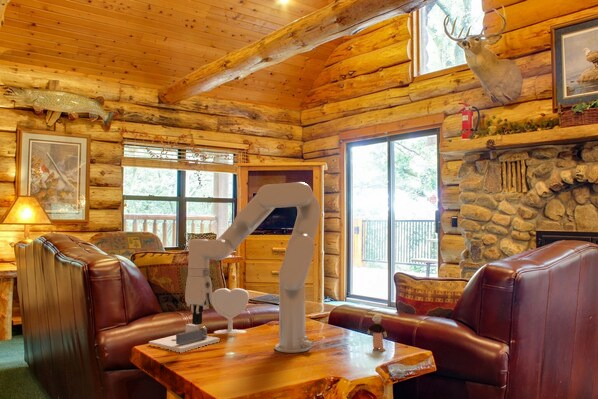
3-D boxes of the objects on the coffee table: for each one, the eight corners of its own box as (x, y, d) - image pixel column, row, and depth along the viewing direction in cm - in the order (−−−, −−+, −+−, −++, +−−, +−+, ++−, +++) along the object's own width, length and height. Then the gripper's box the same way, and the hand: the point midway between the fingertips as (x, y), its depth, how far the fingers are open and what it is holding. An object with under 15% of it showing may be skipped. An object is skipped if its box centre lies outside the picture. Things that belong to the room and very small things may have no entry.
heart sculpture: (210, 333, 203) (210, 289, 204) (212, 330, 208) (212, 288, 209) (248, 332, 203) (248, 289, 204) (249, 330, 208) (249, 287, 209)
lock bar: (203, 336, 189) (203, 325, 189) (208, 337, 187) (208, 326, 187) (174, 343, 178) (175, 332, 178) (180, 345, 176) (180, 333, 176)
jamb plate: (219, 341, 188) (219, 327, 188) (180, 352, 173) (180, 337, 173) (188, 335, 199) (188, 322, 199) (148, 345, 183) (149, 330, 184)
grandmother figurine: (389, 349, 175) (388, 314, 176) (386, 352, 172) (386, 315, 172) (368, 347, 178) (368, 312, 179) (365, 350, 175) (365, 314, 176)
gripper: (220, 273, 176) (219, 325, 176) (192, 270, 185) (191, 319, 184) (205, 275, 170) (203, 328, 169) (176, 272, 179) (175, 322, 178)
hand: (197, 323), depth 177 cm, fingers closed
